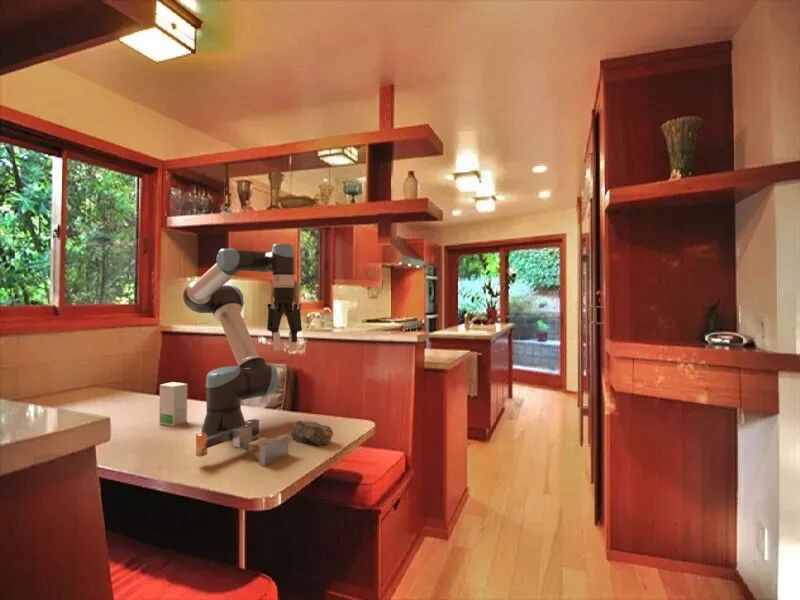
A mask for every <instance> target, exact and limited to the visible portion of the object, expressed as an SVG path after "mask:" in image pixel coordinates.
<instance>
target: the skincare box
mask: <svg viewBox="0 0 800 600" xmlns="http://www.w3.org/2000/svg"><path fill="white" fill-rule="evenodd" d="M158 408H159V413H158V416H159V418H158V419H159V420H158V424H159V425H166V426H170V427H176V426H178V425H181V424H185V423H187V422H188V421H187V419H188V383H183V382H176V381H175V382H174V381H171V382H167V383H162V384H159V407H158Z"/></svg>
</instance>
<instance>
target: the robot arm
mask: <svg viewBox="0 0 800 600" xmlns="http://www.w3.org/2000/svg"><path fill="white" fill-rule="evenodd" d="M271 248H272V250H271V251H261V250H248V249H237V248H236V249H235V248H221V249H220V250H219V251H218V252H217V253H218V254H217V255H216V263H215V264H213V265H212V267H210V268H209V269H208V270H207V271H206V272H205V273H204V274H203V275H202V276H201V277H200V278H198V279H197V280H196V281H192V282H191V283H189V284H188V285H187V286H186V287H185V288H184V291H183V293H182V299H183V302H184V304H185V305H186V307H187V308H188V309H189V310H190V311H193V312H195V313H199V314H212V316H213V317H214V319H215V320H216V321H218V322H220V324H221V326H222V329H223V331H224V334H225V337H226V338H227V341H228V342H227V343H228V344H229V346H230V349H231V351H232V354H233V356H234V359H235V361H236V363H237V365H229V366H222V367H218V368H215V369H213V370H210V371H209V372H208V373H206V374H207V375H206V377H205V378H206V379H205V380H206V381H205V391H206V392H205V394H206V396H205V397H206V414H205V418H204V420H203V425H202V427H201V433H207V437H209V436H212V435H215V434H218V433H221V432H224V431H227V430H230V429H233V428H237V427H240V426H243V425H245V421H246V420H245V417H244V415H243V412H242V407H241V403H242V401H245V400H249V399H254V398H260V397H265V396H267V395H271V394H273V393H275V391H276V389H277V387H278V383H279V382H278V381H279V374H278V370H277V367H276V366H275V365H274V364H268V363H267V361H266V359H265V358H264V357H263V356H260V355H259V353H258V350H257V348H256V346H255V343H254V341H253V339H252V336H251V335H250V332H249V330H248V328H247V325H246V322H245V321H244V318H243V316H242V312H243V309H244V304H245V301H244V295H243V292H242V291H241V289H240V288H238V287H237V286H234V285H229V284H228V285H226V283H228V282H229V281H230V280H231V279H233V277H234V276H236V275H238V273H239V272H258V273H266V274H267V273H269V272H270V273H271V272H272V286H273V288H272V297H273V298H274V300H273V302H272V303H268V304H267V305H266V306H267V327H266V329H267V330H266V331H269V332H271V341H272V343H273V345H272V346H273V352H276V351H281V332H280V330H279V328H280V325H281V322H282V317H283V315H284V316H285V317H286V320H287V323H288V327H289V328H288V329H289V330H290V331H289V333H288V352H289V353H291V352H296V351H297V347H296V346H297V342H298V333H299V332H302V329H303V327H302V318H301V317H302V316H301V308H302V304H301V303H296V302H295V300H294V298H295V294H296V293H295V287H294V286H295V250H294V245H292V244H290V243H274V244H273V245H272V247H271Z"/></svg>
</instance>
